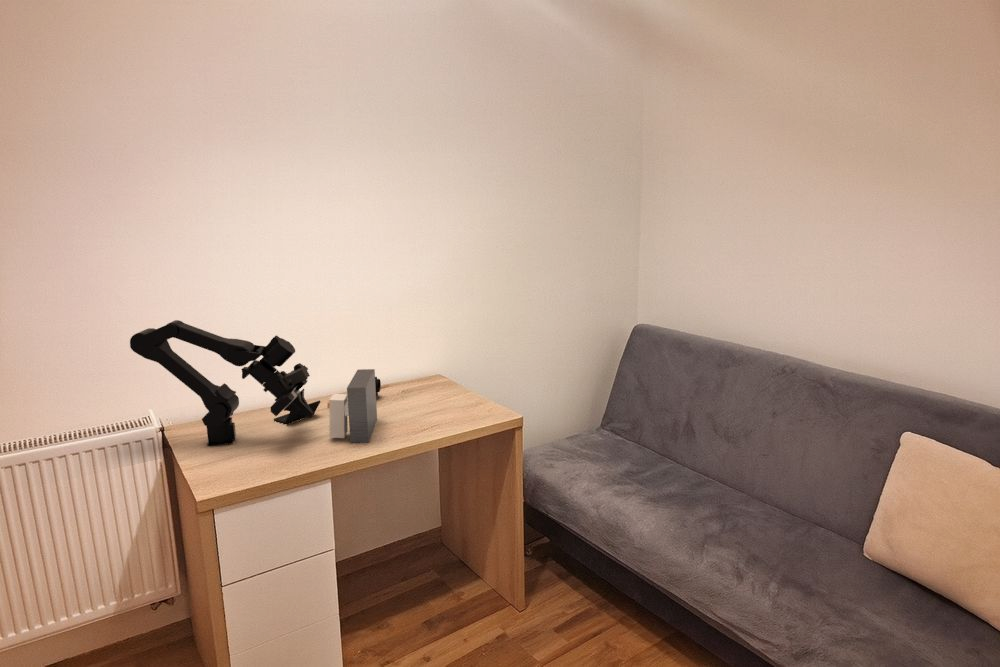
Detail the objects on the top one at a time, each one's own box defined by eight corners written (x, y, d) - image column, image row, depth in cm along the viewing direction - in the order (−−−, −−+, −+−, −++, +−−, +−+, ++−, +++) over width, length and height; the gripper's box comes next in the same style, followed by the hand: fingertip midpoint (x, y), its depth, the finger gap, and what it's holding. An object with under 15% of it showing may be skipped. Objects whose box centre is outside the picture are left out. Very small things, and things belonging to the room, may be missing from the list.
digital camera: (374, 406, 209) (373, 385, 207) (357, 406, 209) (356, 385, 207) (381, 396, 219) (380, 376, 217) (365, 396, 219) (364, 376, 218)
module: (326, 437, 179) (326, 399, 177) (330, 431, 184) (330, 394, 182) (344, 438, 180) (344, 400, 177) (347, 431, 185) (347, 394, 182)
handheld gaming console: (296, 405, 205) (307, 385, 200) (312, 420, 204) (324, 400, 199) (270, 422, 196) (280, 401, 190) (287, 438, 195) (298, 417, 189)
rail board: (346, 443, 178) (343, 388, 175) (357, 420, 196) (354, 369, 192) (368, 442, 179) (365, 387, 175) (377, 420, 196) (374, 369, 193)
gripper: (280, 367, 167) (325, 407, 170) (298, 349, 185) (338, 386, 188) (251, 396, 169) (296, 435, 172) (272, 375, 187) (312, 411, 190)
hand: (312, 415), depth 180 cm, fingers closed
